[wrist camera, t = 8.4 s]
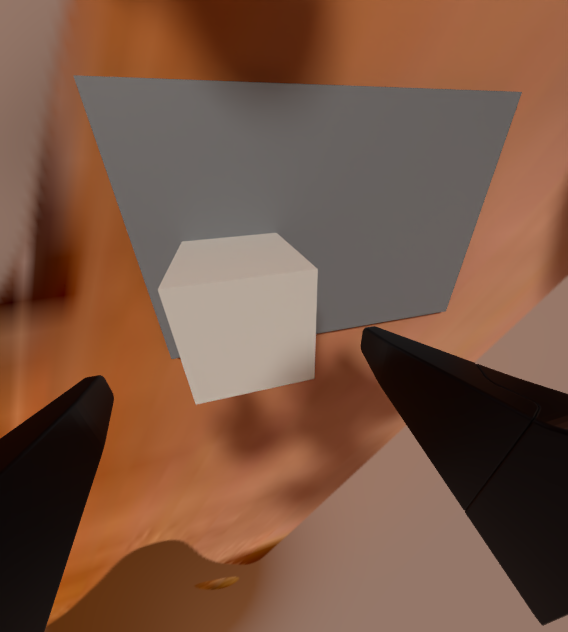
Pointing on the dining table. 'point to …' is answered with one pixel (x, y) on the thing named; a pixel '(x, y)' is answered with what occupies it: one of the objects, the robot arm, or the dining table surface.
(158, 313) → the board
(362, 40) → the dining table surface
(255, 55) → the dining table surface
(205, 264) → the white rectangular block
